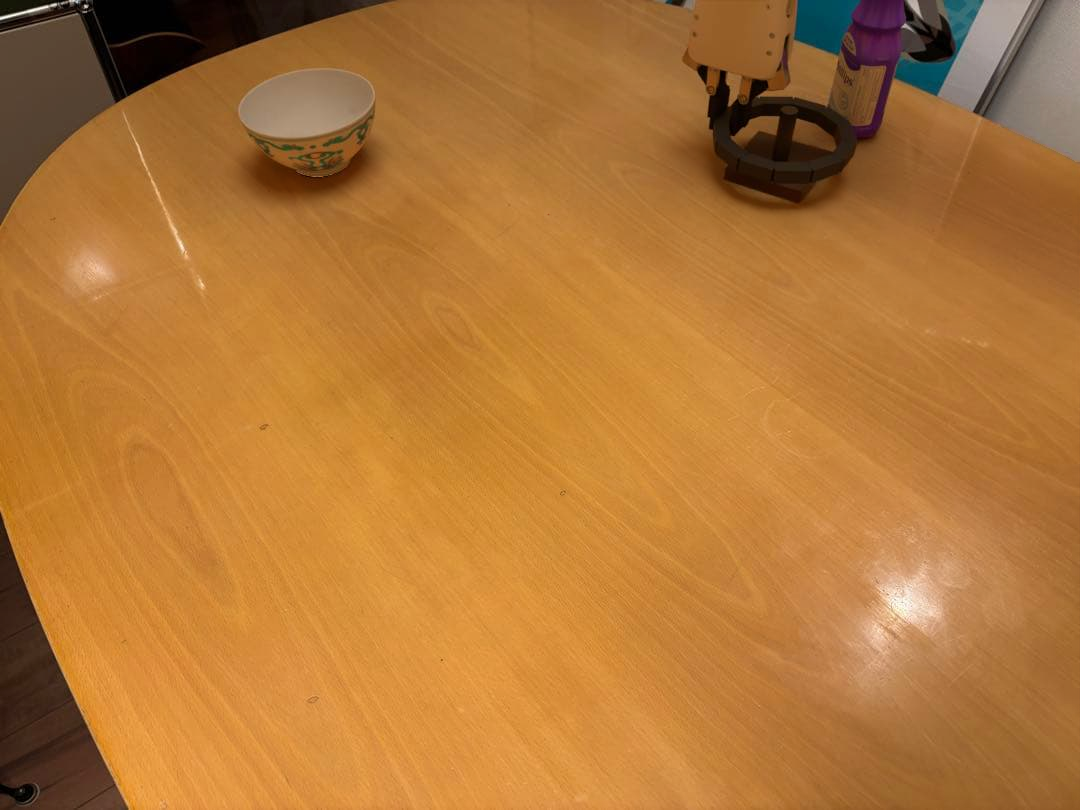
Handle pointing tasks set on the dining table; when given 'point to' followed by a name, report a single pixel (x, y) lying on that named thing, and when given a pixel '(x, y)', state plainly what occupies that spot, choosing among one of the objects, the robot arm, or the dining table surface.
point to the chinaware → (310, 118)
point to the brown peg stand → (779, 157)
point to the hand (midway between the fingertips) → (727, 126)
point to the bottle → (868, 64)
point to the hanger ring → (787, 170)
